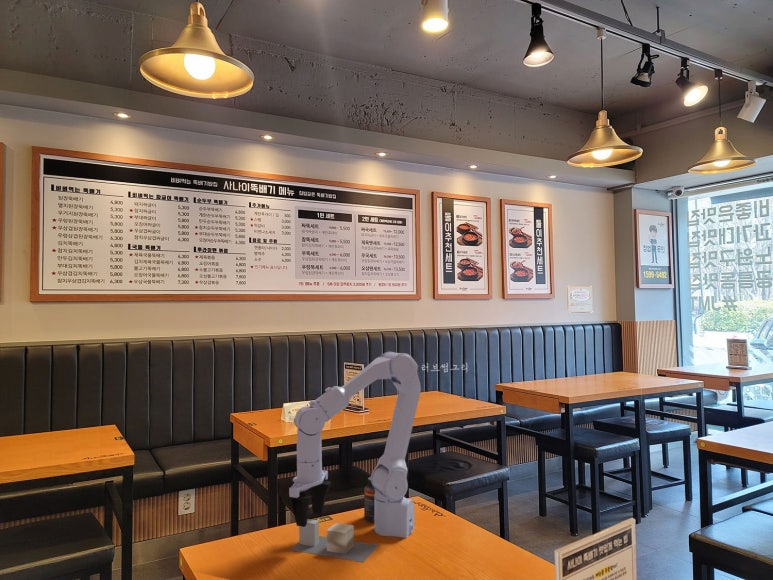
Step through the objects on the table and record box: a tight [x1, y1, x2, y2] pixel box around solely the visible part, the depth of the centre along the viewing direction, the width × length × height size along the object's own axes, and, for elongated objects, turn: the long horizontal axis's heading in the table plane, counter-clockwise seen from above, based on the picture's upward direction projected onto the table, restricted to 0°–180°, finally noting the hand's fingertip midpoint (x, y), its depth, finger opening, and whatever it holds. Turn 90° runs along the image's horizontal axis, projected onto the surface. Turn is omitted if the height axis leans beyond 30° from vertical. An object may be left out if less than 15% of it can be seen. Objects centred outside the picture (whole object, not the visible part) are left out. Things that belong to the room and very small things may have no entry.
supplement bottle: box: [363, 476, 375, 524], centre depth 136 cm, size 6×6×11 cm
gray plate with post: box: [289, 518, 380, 563], centre depth 119 cm, size 18×9×6 cm, turn 69°
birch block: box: [326, 522, 355, 554], centre depth 118 cm, size 4×4×4 cm
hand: (309, 519), depth 121 cm, fingers open, 7 cm apart
